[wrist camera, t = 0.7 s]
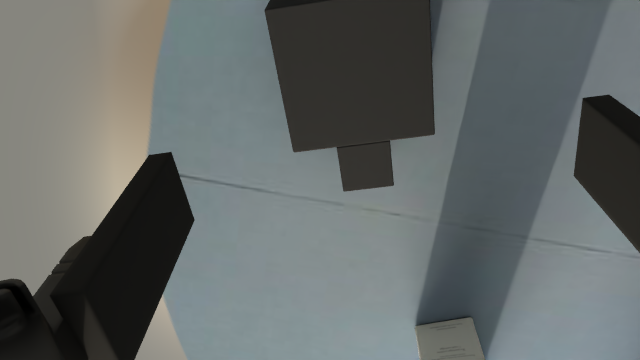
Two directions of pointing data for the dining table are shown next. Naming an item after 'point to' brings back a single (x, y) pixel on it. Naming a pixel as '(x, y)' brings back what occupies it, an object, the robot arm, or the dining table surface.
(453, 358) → the ink box
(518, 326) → the dining table surface
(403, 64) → the black pad
